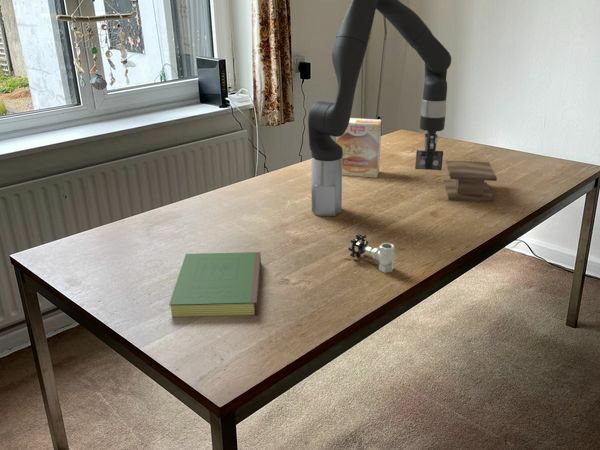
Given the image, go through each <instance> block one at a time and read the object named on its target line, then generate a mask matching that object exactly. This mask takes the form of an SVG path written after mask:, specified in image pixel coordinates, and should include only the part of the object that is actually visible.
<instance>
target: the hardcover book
mask: <svg viewBox="0 0 600 450" xmlns="http://www.w3.org/2000/svg"><path fill="white" fill-rule="evenodd" d="M261 259H262V258H261V252H260V251H259V252H257V251H254V252H249V251H248V252H215V253H214V252H208V253H207V252H206V253H204V252H201V253H185V255H184V258H183V261H182V265H181V267H180V271H179V274H178V277H177V280H176V282H175V286H174V288H173V292H172V294H171V298H170V301H169V304H168V305H169V306H170V311H171V313H170V314H171V317H172V318H174V317H175V318H176V317H210V316H211V317H213V316H215V317H216V316H219V317H220V316H221V317H222V316H258V307H259V306H258V305H259V296H260V295H259V292H260V281H261V280H260V279H261V269H262V263H261V261H262V260H261Z"/></svg>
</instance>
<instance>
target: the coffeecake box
mask: <svg viewBox="0 0 600 450" xmlns="http://www.w3.org/2000/svg"><path fill="white" fill-rule="evenodd" d="M382 125H383V124H382V119H379V118H378V119H376V118H375V119H374V118H372V119H371V118H359V117H357V118H356V117H350V121H349V124H348V127H347V129H346V131H345V133H344V134H343V135H342V136H339V137H336V141H335V142H336V143H337V144H339V145H340V146H341V147H342V150H343V160H342V176H349V177H350V176H351V177H361V178H363V177H364V178H378V175H379V172H380V162H381V144H382V143H381V140H382Z"/></svg>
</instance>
